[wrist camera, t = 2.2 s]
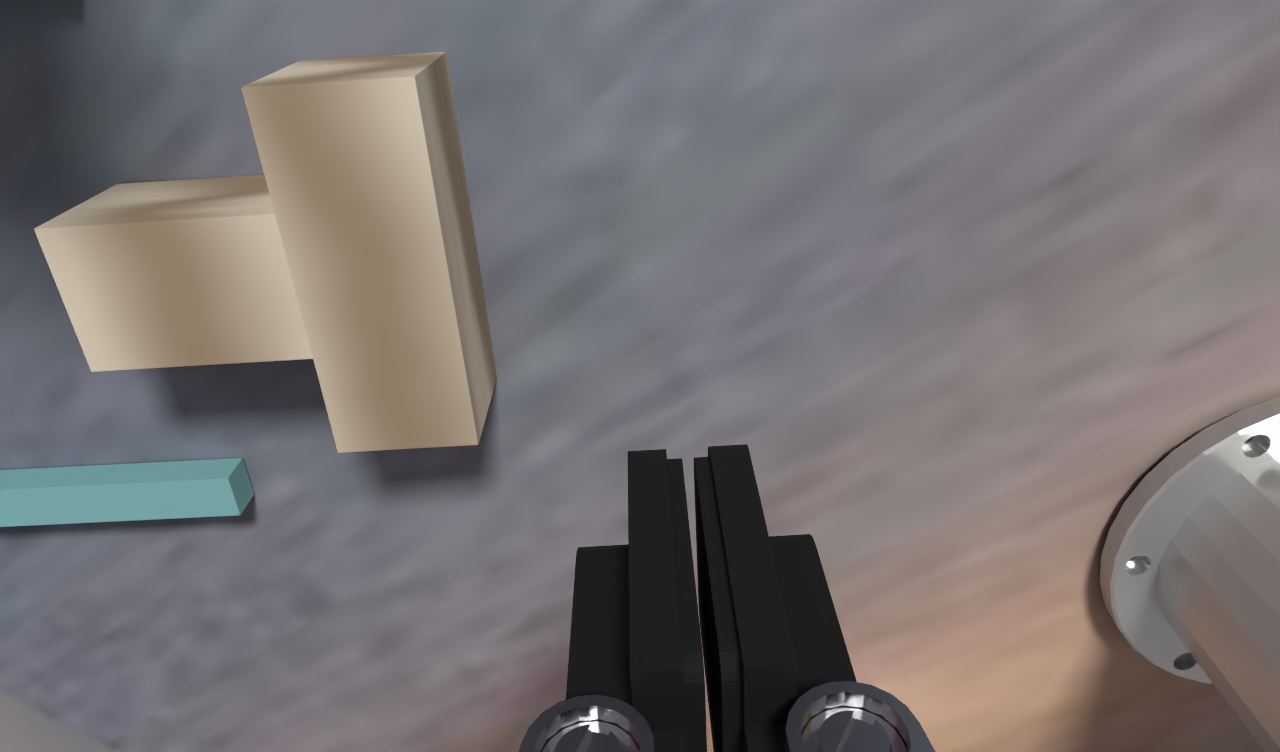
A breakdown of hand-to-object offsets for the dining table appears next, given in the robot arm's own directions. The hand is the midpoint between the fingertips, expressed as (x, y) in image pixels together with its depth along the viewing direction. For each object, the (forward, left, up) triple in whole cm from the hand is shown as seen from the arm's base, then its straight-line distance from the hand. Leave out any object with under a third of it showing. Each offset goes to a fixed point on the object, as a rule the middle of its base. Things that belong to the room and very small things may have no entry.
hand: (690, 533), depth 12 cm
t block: (+11, 0, -15) cm, 18 cm away
